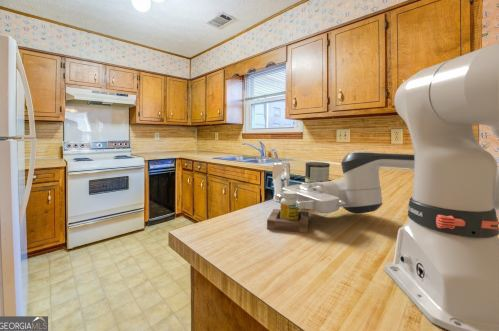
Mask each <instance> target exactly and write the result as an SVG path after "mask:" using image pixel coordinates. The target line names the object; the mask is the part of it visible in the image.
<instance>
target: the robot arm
mask: <svg viewBox="0 0 499 331" xmlns="http://www.w3.org/2000/svg"><path fill="white" fill-rule="evenodd" d="M393 103H394V108H395V110H396V113H397V114H398V115H399V117H400V118H402V120H403V121H404V122H405V124H406V127H407V130H408V133H409V135H410V139H411V140H410V141H411V144H412V148H413V154H412V153H411V154H407V153H384V152H382V153H380V152H379V153H377V152H371V151H366V150H355V151H351V152H348V153H347V154H346V155H345V156H344V158H343V159H342V161H341V162H340V164H341V170H342V173H343V175H344V176H343V177H344V179H339V180H338V179H337V180H334V181H328V182H316V183H310V182H301V184H292V185H288V186H286V187H283V188H282V190H281V194H277V195H276V199H277V200H279V201H281V199H283V198H284V197H283V192H284V191H295V192H297V197H296V199H298V201H297V202H296V207H297V208H299V210H301V209H307V210H308V209H309V210H312V211H314V212H318V213H321V214H330V213H334V212H337V211H339V209H340V208H342V209H344V210H345V211H347V212H349V213H350V214H356V215H357V214H366V213H371V212H375V211H377V210H379V208H380V207H381V206H382V205H383V196H382V195H383V193H382V187H381V180H380V174H379V172H380V168H382V167H383V168H396V169H397V168H400V169H409V170H411V169H412V170H413V184H412V196H411V197H410V198H409V201H408V204H407V209H408V210H407V216H408V219H407V221H406V222H405V223H404V225H402V226H401V227H399V228H398V231H397V235H396V241H395V242H396V243H395V249H394V250H395V251H394V256H393V260H392V261H390V262H387V263H385V265H384V271H385V272H386V274H388V276H390V278H391V280H393V282H395V284H396V285H398V287H399V289H401V290H402V291H403V293H404V294H405V295H406V296H407V297H408V298H409V299H410V300H411V302H413V303H414V305H416V307H417V308H418V310H420V311H421V312H422V314H423V315H424V316H425V317H426V318H427V319H428V320H429V321H430V322H431V323H432V324H434V325H436V326H438V327H440V328H443V329H445V330H448V331H499V218H498V216H497V210H499V165H498V162H497V159H496V158H495V157H494V155H492V154H491V153H490V152H489V151H487V150H486V149H484V148H483V147H482V146H481V144H480V143H479V141H478V140H477V137H476V135H475V132H474V126H473V125H481V126H488V127H490V129H491V132H492V133H493V134H494V135H495V136H496V137H497V138H498V139H499V42H497V43H493V44H490V45H487V46H485V47H482V48H480V49H476V50H473V51H471V52H468V53H465V54H462V55H459V56H456V57H453V58H451V59H447V60H446V61H442V62H440V63H436V64H434V65H432V66H428V67H425V68H423V69H420V70H419V71H418V72H416V73H415V74H412V75H411V76H410V77H409V78H407V79H406V80H404V81H403V82H402V83H401V84H400V85H399V87H398V88H397V89H396V91H395V94H394V101H393Z"/></svg>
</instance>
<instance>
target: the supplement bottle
mask: <svg viewBox="0 0 499 331" xmlns="http://www.w3.org/2000/svg"><path fill="white" fill-rule="evenodd" d="M283 197H284V198H283V199H281V202H280V210H281V211H280V219H288V220H299V211H300V209H299V208H297V207H296V202H297V201H298V199H296V197H297V192H295V191H284V192H283Z"/></svg>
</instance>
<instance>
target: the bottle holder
mask: <svg viewBox="0 0 499 331" xmlns="http://www.w3.org/2000/svg"><path fill="white" fill-rule="evenodd" d="M280 211H281V209H277V208H273V209H272V211H271V212H270V215H269V216H268V218H267V220H266V229H268V230H277V231H285V232H286V231H287V232H295V233H296V232H297V233H305V234H307V233H308V228H309V214H310V212H309V211H302V210H301V211H300V210H299V220H288V219H280Z"/></svg>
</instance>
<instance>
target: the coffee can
mask: <svg viewBox="0 0 499 331" xmlns="http://www.w3.org/2000/svg"><path fill="white" fill-rule="evenodd" d="M330 165H331V164H330V162H329V163H328V162H319V161H317V162H316V161H315V162H314V161H312V162H310V161H309V162H305V178H304V181H305V182H310V183H316V182H328V181H329V180H330ZM329 182H330V181H329Z"/></svg>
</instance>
